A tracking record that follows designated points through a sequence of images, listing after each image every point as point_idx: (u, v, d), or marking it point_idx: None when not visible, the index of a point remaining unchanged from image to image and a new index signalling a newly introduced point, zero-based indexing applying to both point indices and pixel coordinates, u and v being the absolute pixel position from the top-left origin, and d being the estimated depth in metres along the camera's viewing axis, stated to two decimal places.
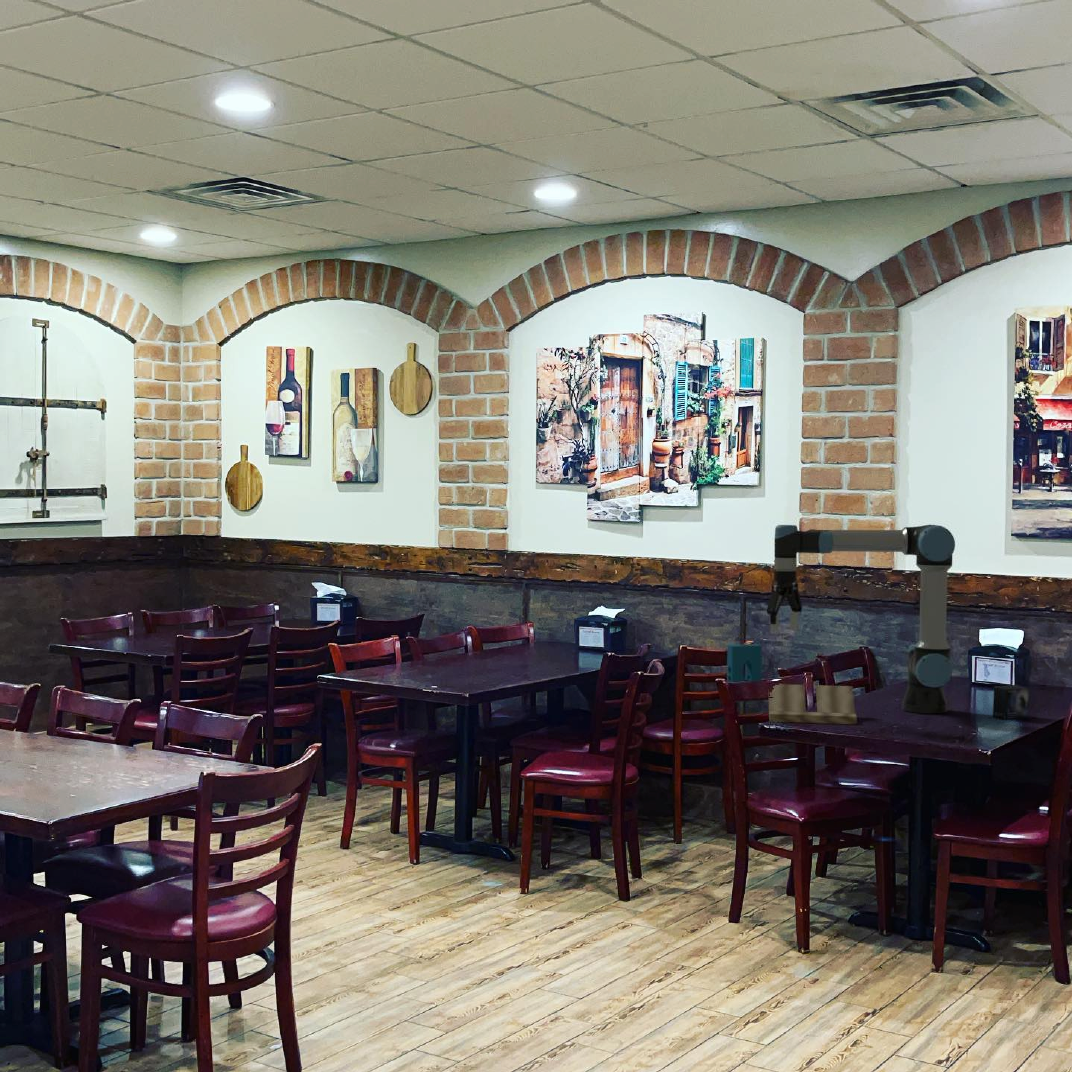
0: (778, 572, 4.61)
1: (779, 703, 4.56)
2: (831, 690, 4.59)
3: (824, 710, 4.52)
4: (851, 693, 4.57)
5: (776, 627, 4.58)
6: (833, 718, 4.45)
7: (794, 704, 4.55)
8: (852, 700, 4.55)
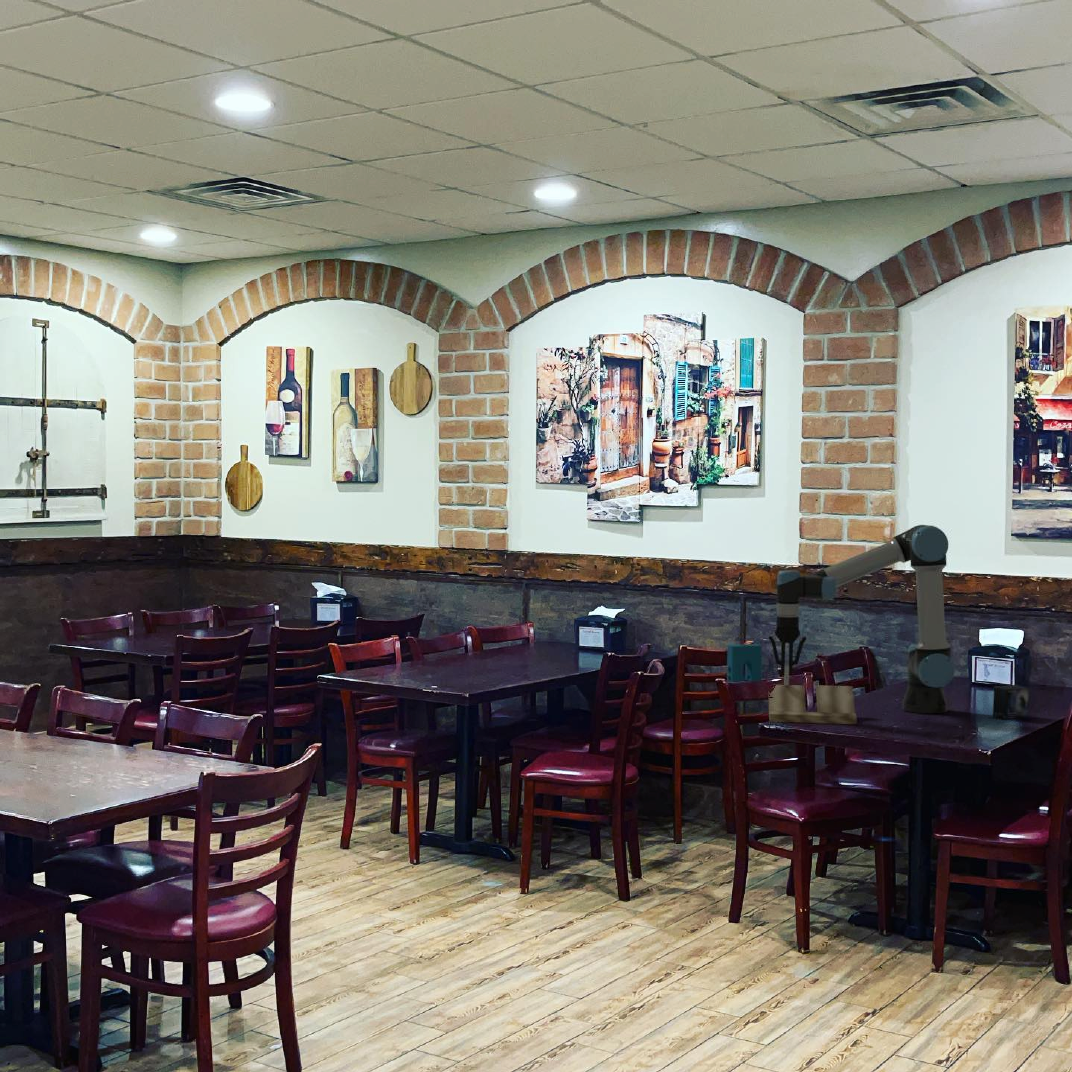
0: None
1: (779, 703, 4.56)
2: (831, 690, 4.59)
3: (824, 710, 4.52)
4: (851, 693, 4.57)
5: None
6: (833, 718, 4.45)
7: (793, 705, 4.55)
8: (852, 700, 4.55)
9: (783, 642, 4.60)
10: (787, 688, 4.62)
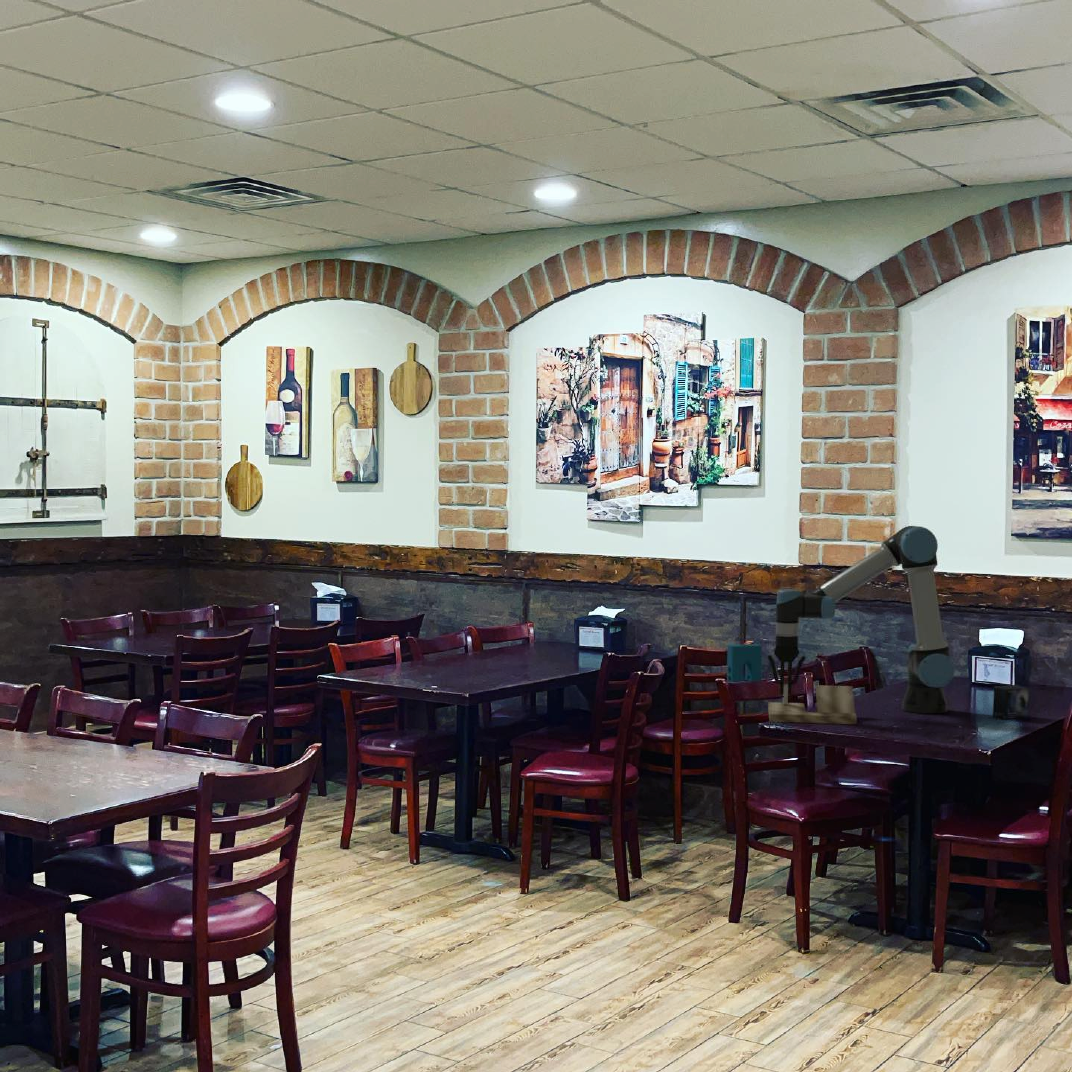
0: (776, 636, 4.63)
1: (779, 708, 4.57)
2: (831, 690, 4.59)
3: (824, 710, 4.52)
4: (851, 693, 4.57)
5: (783, 697, 4.62)
6: (833, 718, 4.45)
7: (793, 709, 4.56)
8: (852, 700, 4.55)
9: (782, 661, 4.61)
10: None
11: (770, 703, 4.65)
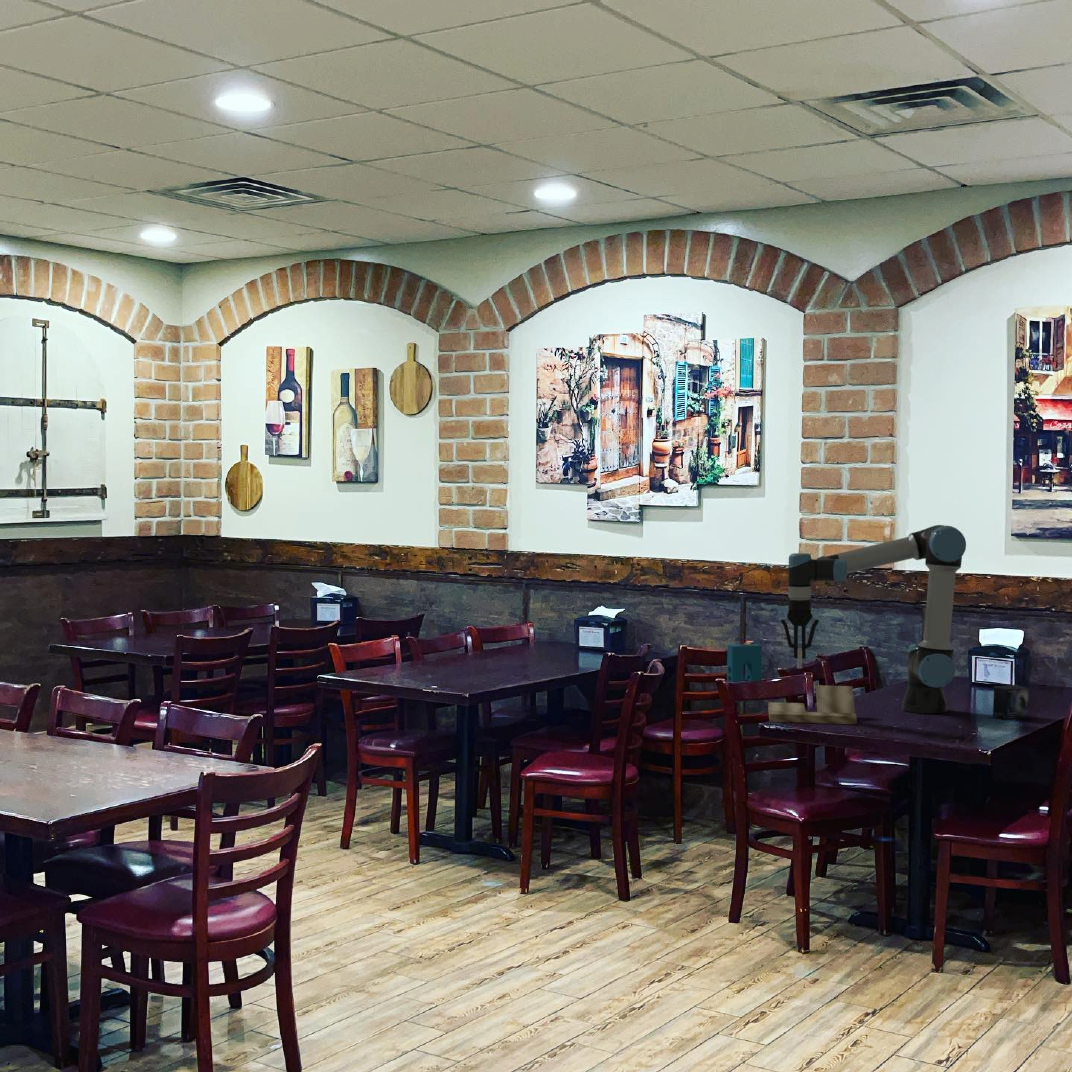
0: (788, 600, 4.62)
1: (779, 708, 4.57)
2: (831, 690, 4.59)
3: (824, 710, 4.52)
4: (851, 693, 4.57)
5: (797, 662, 4.61)
6: (833, 718, 4.45)
7: (793, 709, 4.56)
8: (852, 700, 4.55)
9: (795, 625, 4.60)
10: (787, 703, 4.64)
11: (770, 703, 4.65)
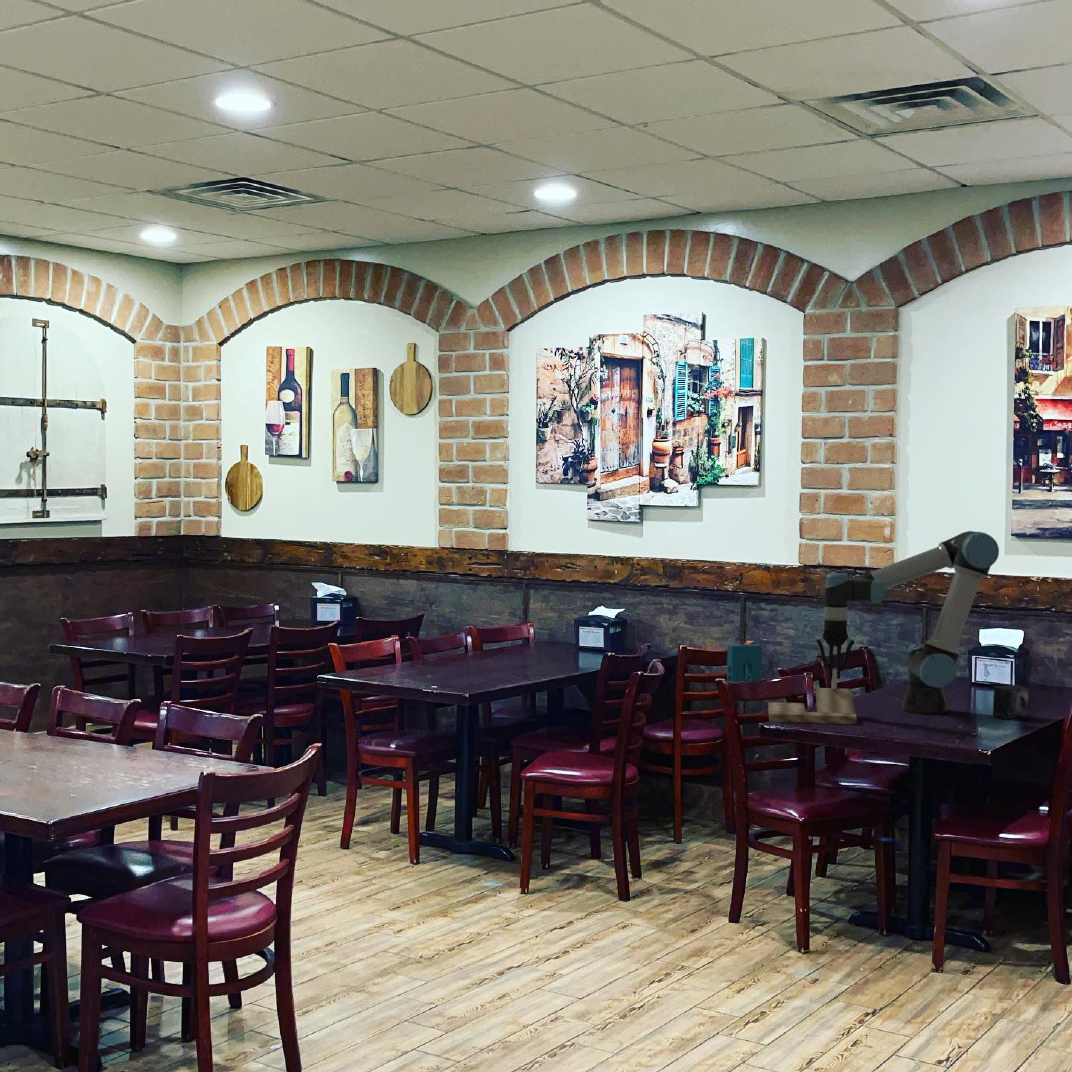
0: (824, 620, 4.61)
1: (779, 708, 4.57)
2: (831, 693, 4.60)
3: (824, 711, 4.52)
4: (851, 695, 4.58)
5: (832, 682, 4.60)
6: (833, 718, 4.45)
7: (793, 709, 4.56)
8: (852, 701, 4.55)
9: (831, 645, 4.59)
10: (787, 703, 4.64)
11: (770, 703, 4.65)
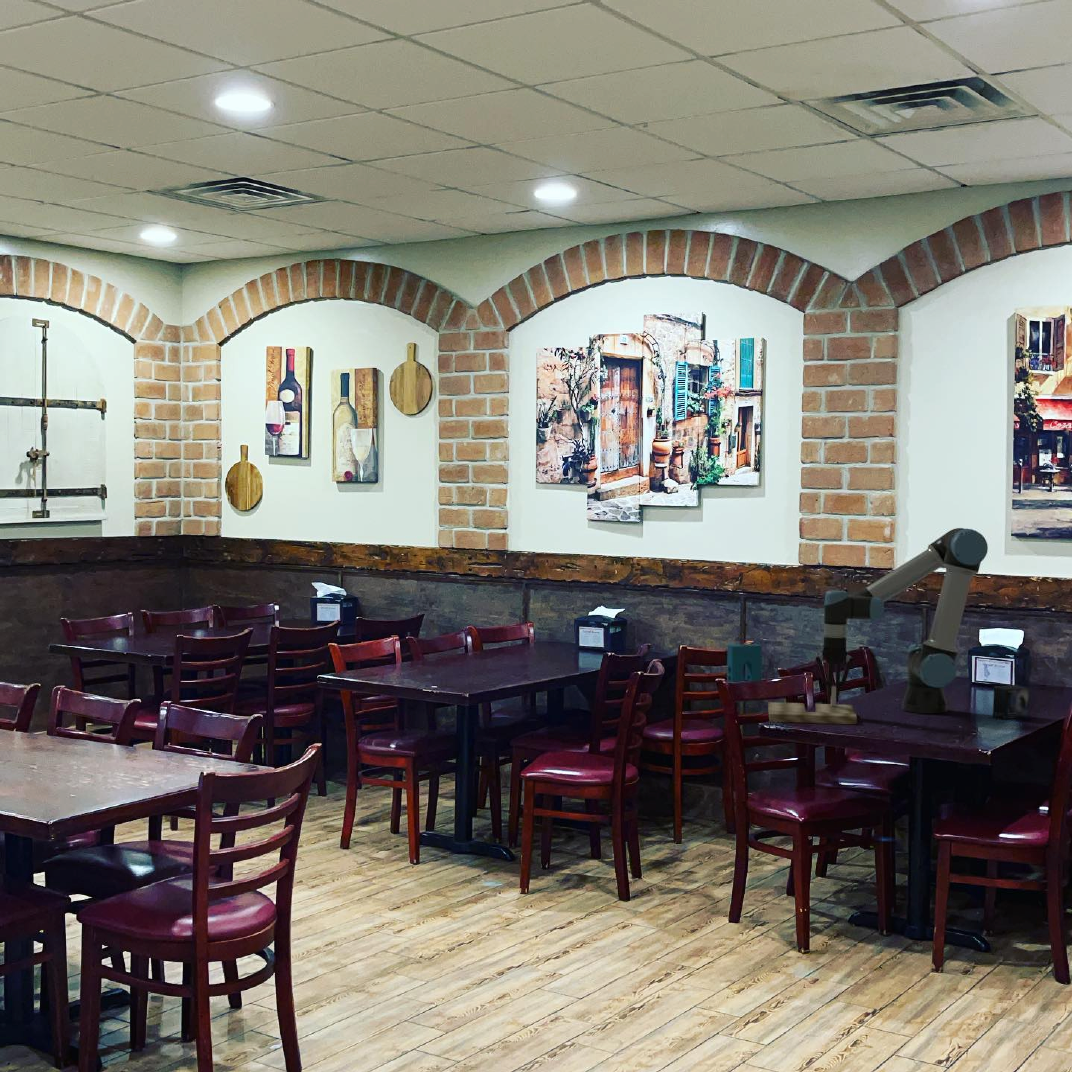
0: None
1: (779, 708, 4.57)
2: (830, 705, 4.61)
3: (824, 711, 4.52)
4: (850, 707, 4.59)
5: None
6: (833, 718, 4.45)
7: (793, 709, 4.56)
8: (852, 709, 4.56)
9: (830, 663, 4.58)
10: (787, 703, 4.64)
11: (770, 703, 4.65)
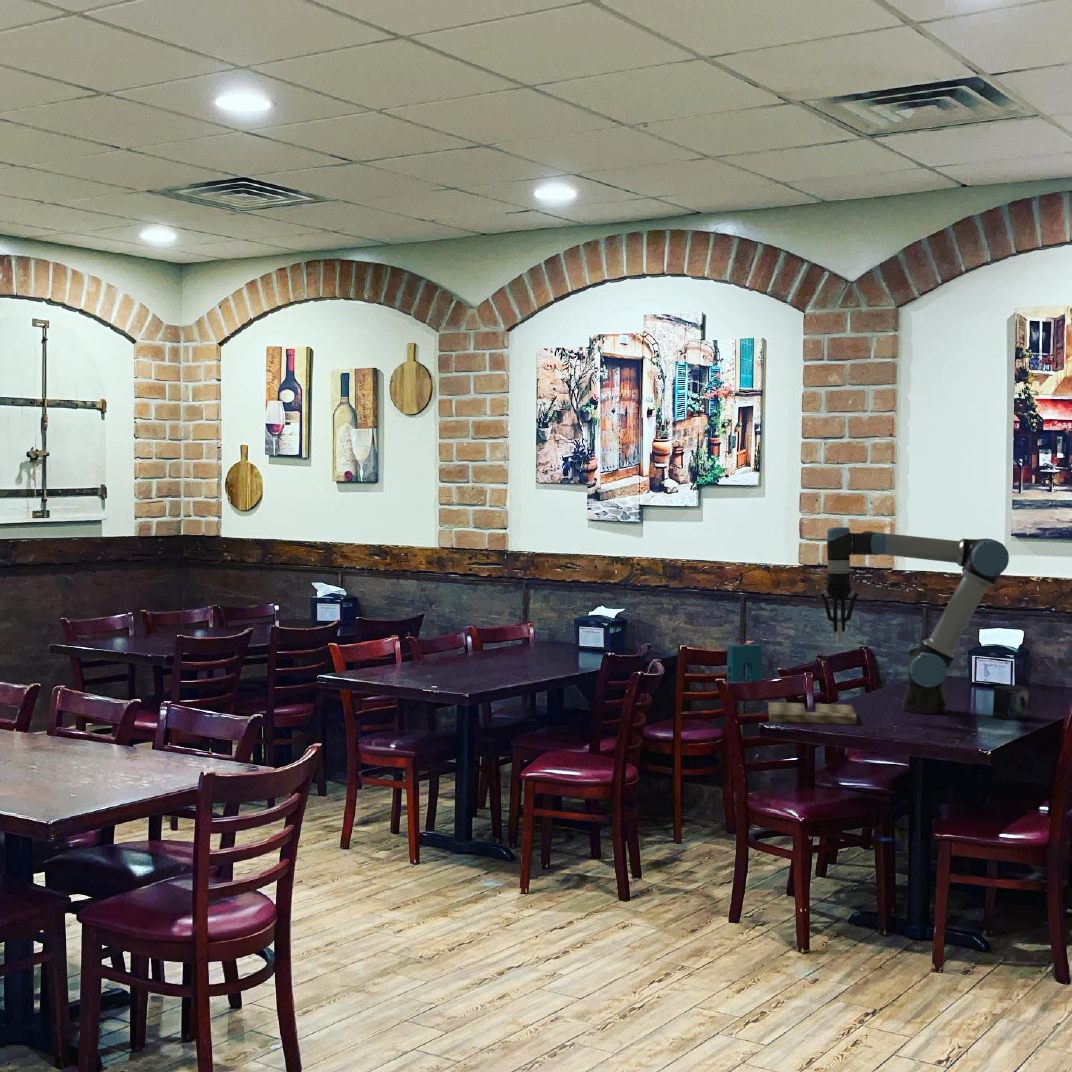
0: None
1: (779, 708, 4.57)
2: (830, 705, 4.61)
3: (824, 711, 4.52)
4: (850, 707, 4.59)
5: None
6: (833, 718, 4.45)
7: (793, 709, 4.56)
8: (852, 709, 4.56)
9: (835, 599, 4.63)
10: (787, 703, 4.64)
11: (770, 703, 4.65)
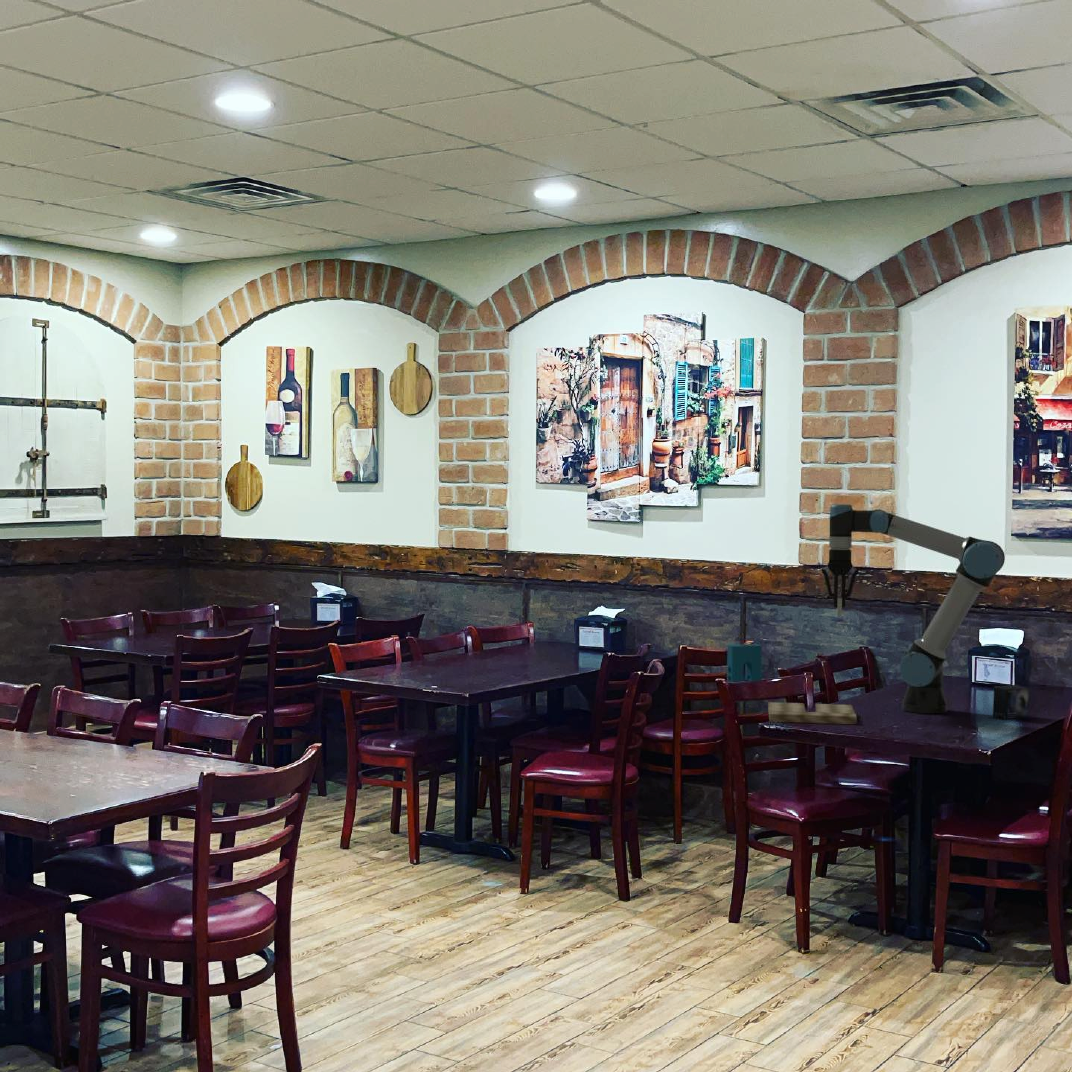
0: (829, 550, 4.70)
1: (779, 708, 4.57)
2: (830, 705, 4.61)
3: (824, 711, 4.52)
4: (850, 707, 4.59)
5: (837, 610, 4.69)
6: (833, 718, 4.45)
7: (793, 709, 4.56)
8: (852, 709, 4.56)
9: (836, 575, 4.68)
10: (787, 703, 4.64)
11: (770, 703, 4.65)
